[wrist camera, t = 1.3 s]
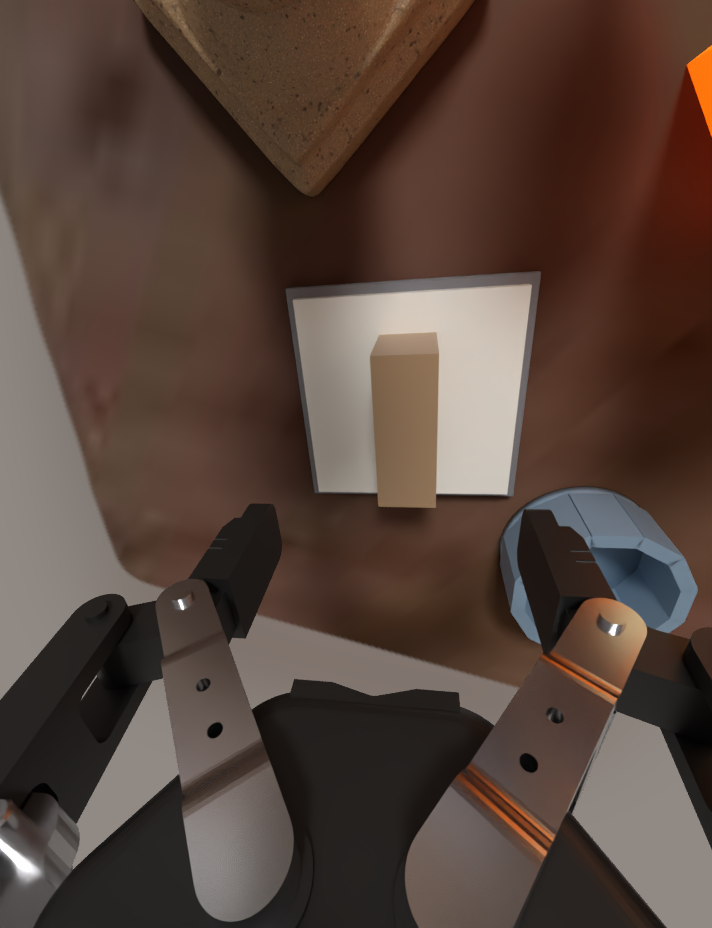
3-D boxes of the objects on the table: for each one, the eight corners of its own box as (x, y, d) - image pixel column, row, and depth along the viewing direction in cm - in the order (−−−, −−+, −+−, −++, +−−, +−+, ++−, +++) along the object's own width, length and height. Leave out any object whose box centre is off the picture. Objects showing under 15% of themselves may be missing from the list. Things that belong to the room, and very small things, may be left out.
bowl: (669, 487, 25) (720, 539, 21) (631, 600, 30) (666, 661, 26) (506, 485, 27) (522, 533, 23) (494, 593, 32) (505, 650, 27)
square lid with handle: (529, 283, 21) (558, 297, 16) (505, 489, 26) (522, 540, 22) (295, 298, 22) (264, 314, 18) (320, 487, 28) (301, 534, 24)
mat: (537, 270, 21) (541, 272, 20) (510, 489, 27) (512, 496, 26) (289, 287, 23) (285, 289, 22) (317, 487, 29) (314, 493, 28)
